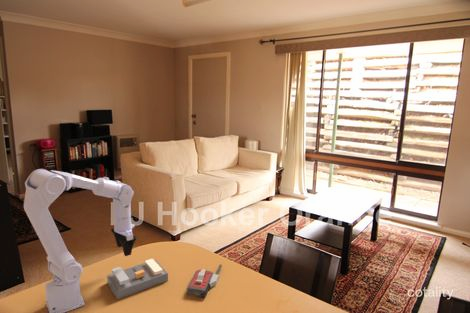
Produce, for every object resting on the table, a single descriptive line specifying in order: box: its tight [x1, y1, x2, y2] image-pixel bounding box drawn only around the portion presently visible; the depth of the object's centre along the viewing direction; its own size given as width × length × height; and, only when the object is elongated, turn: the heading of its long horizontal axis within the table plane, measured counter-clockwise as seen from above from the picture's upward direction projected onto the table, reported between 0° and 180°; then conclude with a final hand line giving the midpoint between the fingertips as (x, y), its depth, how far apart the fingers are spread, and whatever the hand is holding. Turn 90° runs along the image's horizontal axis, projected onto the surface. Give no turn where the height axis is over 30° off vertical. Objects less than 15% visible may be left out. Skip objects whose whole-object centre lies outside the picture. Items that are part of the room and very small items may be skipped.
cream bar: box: [144, 258, 164, 275], centre depth 113 cm, size 3×9×1 cm, turn 38°
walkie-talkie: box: [186, 263, 223, 299], centre depth 112 cm, size 9×4×20 cm
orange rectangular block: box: [135, 270, 145, 279], centre depth 108 cm, size 3×2×2 cm, turn 128°
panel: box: [106, 259, 169, 301], centre depth 110 cm, size 18×11×3 cm, turn 128°
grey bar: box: [111, 266, 129, 285], centre depth 105 cm, size 3×9×1 cm, turn 38°
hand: (124, 250), depth 113 cm, fingers open, 7 cm apart
